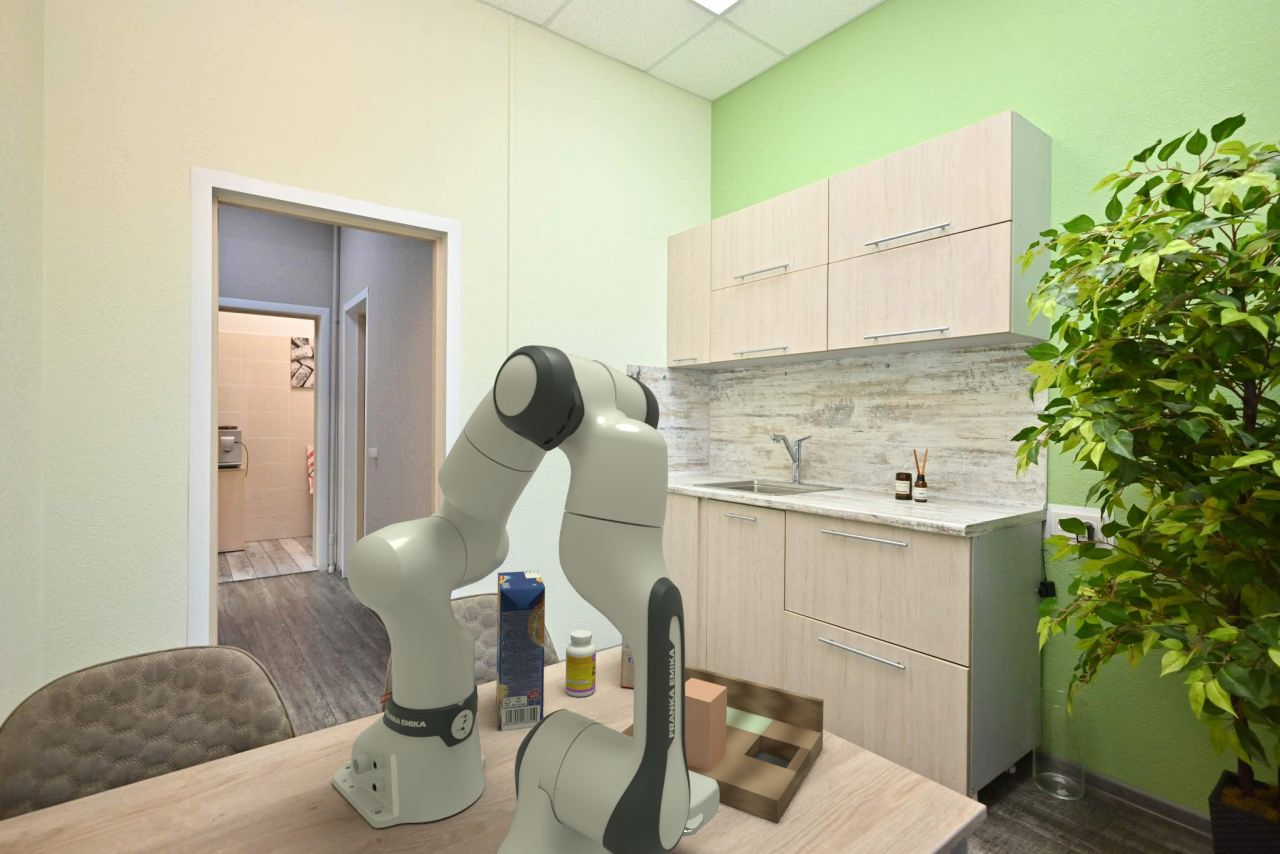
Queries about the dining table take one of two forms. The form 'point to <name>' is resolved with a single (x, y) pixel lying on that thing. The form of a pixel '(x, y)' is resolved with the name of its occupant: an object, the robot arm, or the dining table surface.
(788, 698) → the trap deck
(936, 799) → the dining table surface
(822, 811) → the dining table surface
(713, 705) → the terracotta block
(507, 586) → the juice carton
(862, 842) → the dining table surface
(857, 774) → the dining table surface
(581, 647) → the supplement bottle
